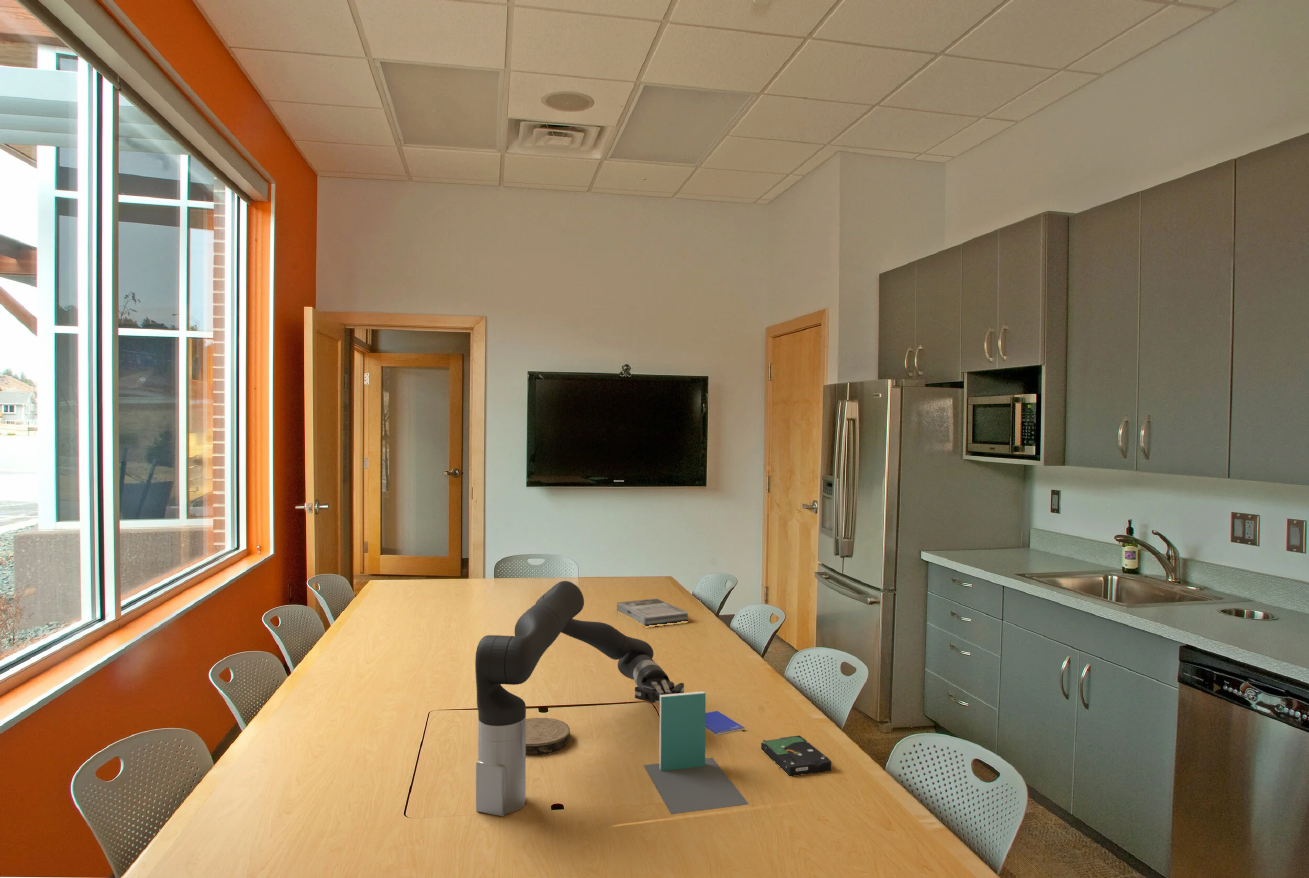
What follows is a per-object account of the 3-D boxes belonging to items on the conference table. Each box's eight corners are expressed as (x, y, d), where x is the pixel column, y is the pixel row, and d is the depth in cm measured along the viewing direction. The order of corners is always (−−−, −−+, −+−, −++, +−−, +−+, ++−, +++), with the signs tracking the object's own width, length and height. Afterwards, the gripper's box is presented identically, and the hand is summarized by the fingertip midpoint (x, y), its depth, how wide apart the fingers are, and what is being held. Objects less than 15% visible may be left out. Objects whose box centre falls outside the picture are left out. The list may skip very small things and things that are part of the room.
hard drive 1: (645, 629, 286) (645, 617, 286) (615, 613, 310) (615, 602, 310) (688, 624, 294) (689, 612, 294) (656, 609, 318) (656, 598, 318)
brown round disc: (571, 754, 177) (571, 741, 177) (500, 759, 174) (500, 746, 174) (568, 728, 192) (568, 716, 192) (503, 731, 190) (503, 719, 190)
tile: (659, 768, 168) (659, 695, 168) (702, 763, 171) (703, 691, 171) (661, 771, 167) (661, 697, 167) (705, 766, 170) (705, 693, 169)
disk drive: (832, 773, 169) (799, 745, 183) (832, 760, 169) (799, 734, 183) (789, 780, 165) (759, 751, 180) (790, 767, 165) (759, 739, 179)
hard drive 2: (744, 726, 190) (718, 710, 201) (716, 732, 187) (691, 715, 198) (744, 733, 190) (718, 716, 201) (716, 739, 187) (691, 721, 198)
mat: (643, 767, 170) (643, 765, 170) (712, 759, 174) (712, 757, 174) (670, 816, 149) (671, 814, 149) (748, 806, 153) (748, 804, 153)
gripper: (625, 666, 194) (641, 690, 177) (675, 662, 197) (696, 685, 180) (625, 696, 194) (641, 722, 177) (675, 691, 197) (696, 716, 181)
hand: (669, 703), depth 179 cm, fingers closed
